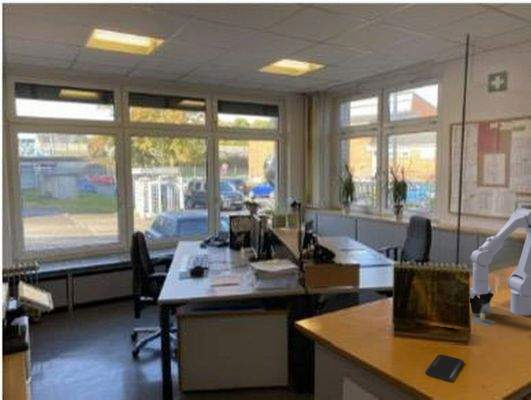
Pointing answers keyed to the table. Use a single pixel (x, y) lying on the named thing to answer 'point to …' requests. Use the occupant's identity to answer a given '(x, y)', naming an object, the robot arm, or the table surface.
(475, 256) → the robot arm
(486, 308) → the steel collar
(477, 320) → the hub plate
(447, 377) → the phone
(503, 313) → the table surface
